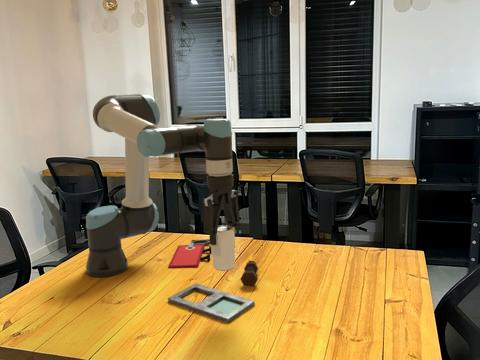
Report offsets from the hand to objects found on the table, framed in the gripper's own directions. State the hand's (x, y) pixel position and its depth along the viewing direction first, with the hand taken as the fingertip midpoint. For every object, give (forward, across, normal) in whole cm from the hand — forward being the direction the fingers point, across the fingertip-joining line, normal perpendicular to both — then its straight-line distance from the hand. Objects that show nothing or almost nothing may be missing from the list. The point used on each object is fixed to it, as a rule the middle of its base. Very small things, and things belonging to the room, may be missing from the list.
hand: (223, 251), depth 130 cm
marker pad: (+18, 0, 0) cm, 18 cm away
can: (+5, 0, 0) cm, 5 cm away
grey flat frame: (+18, 0, +6) cm, 19 cm away
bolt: (+19, +23, +7) cm, 30 cm away
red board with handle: (+19, +30, +41) cm, 54 cm away
